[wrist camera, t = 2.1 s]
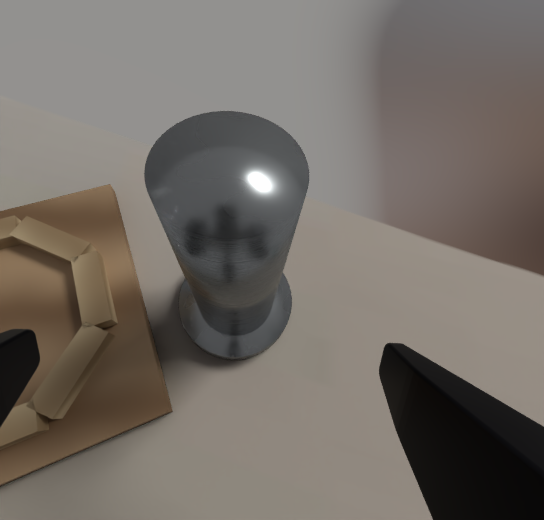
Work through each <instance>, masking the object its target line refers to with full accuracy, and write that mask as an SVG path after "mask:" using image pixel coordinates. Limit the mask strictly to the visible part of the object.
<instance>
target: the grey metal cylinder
mask: <svg viewBox="0 0 544 520" xmlns="http://www.w3.org/2000/svg"><path fill="white" fill-rule="evenodd" d="M144 174H145V184H146V188H147V191H148V194H149V196H150V198H151V201H152V203H153V205H154V207H155V210H156V212H157V214H158V217H159V219H160V221H161V223H162V226H163V228H164V230H165V233H166V235H167V237H168V239H169V242H170V244H171V246H172V249H173V251H174V253H175V255H176V258H177V260H178V262H179V265H180V267H181V269H182V271H183V274H184V276H185V280H184V282H183V284H182V287H181V290H180V295H179V314H180V318H181V321H182V323H183V326H184V328H185V330H186V331H187V333H188V334H189V336H190V337H191V338H192V340H193V341H194V342H195V343H196V344H197V345H198V346H199V347H200V348H201V349H203V350H204V351H205V352H207V353H209V354H211V355H213V356H216V357H219V358H223V359H229V360H239V359H246V358H250V357H253V356H256V355H258V354H260V353H262V352H264V351H265V350H267V349H268V348H269V347H271V346H272V345H273V344H274V343H275V342H276V341H277V339H278V338H279V337H280V335H281V334H282V332H283V330H284V329H285V327H286V324H287V322H288V320H289V317H290V313H291V307H292V297H291V291H290V287H289V284H288V282H287V279H286V277H285V276H284V274H283V269H284V266H285V263H286V259H287V256H288V253H289V249H290V246H291V243H292V239H293V236H294V233H295V229H296V226H297V223H298V219H299V216H300V213H301V209H302V206H303V203H304V199H305V196H306V193H307V189H308V184H309V169H308V163H307V161H306V157H305V155H304V153H303V151H302V149H301V147H300V146H299V145H298V143H297V142H296V141H295V140H294V139H293V137H292V136H291V135H290V134H288V133H287V132H286V131H285V130H284V129H282V128H281V127H279V126H278V125H276V124H274V123H272V122H271V121H269V120H266V119H264V118H261V117H259V116H255V115H252V114H247V113H242V112H234V111H220V112H219V111H218V112H210V113H204V114H200V115H196V116H193V117H190V118H188V119H185V120H183V121H181V122H179V123H177V124H176V125H174V126H173V127H171V128H170V129H168V130H167V131H166V132H165V133H164V134H162V136H161V137H160V138H159V139H158V140H157V141H156V143H155V144H154V145H153V147H152V148H151V150H150V153H149V155H148V157H147V161H146V164H145V173H144Z"/></svg>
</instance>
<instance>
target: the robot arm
mask: <svg viewBox="0 0 544 520" xmlns="http://www.w3.org/2000/svg"><path fill="white" fill-rule="evenodd" d="M39 363H40V353H39V348H38V344H37V339H36V335H35V332H34V331H33V330H31V329H10V330H8V331H5V332H2V333H0V427H1V426H2V424H3V423H4V421H5V420H6V418H7V417H8V415H9V413H10V412H11V410H12V409H13V407H14V405H15V404H16V402H17V400H18V399H19V397H20V396H21V394H22V392H23V391H24V389H25V387H26V386H27V384H28V383H29V381H30V379H31V378H32V376H33V374H34V373H35V371H36V370H37V368H38V366H39ZM379 375H380V380H381V383H382V386H383V389H384V393H385V396H386V399H387V403H388V406H389V409H390V413H391V416H392V419H393V423H394V426H395V429H396V431H397V434H398V437H399V439H400V442H401V444H402V447H403V449H404V451H405V454H406V456H407V458H408V461H409V463H410V466H411V468H412V470H413V473H414V475H415V478H416V480H417V482H418V485H419V487H420V489H421V492H422V494H423V497H424V499H425V501H426V504H427V506H428V509H429V511H430V513H431V516H432V518H433V520H544V427H543V426H542V425H540V424H538V423H537V422H535V421H533V420H531V419H530V418H528V417H526V416H525V415H523V414H521V413H519V412H518V411H516V410H514V409H513V408H511V407H509V406H508V405H506V404H504V403H502V402H501V401H499V400H497V399H496V398H494V397H492V396H491V395H489V394H487V393H485V392H484V391H482V390H480V389H479V388H477V387H475V386H474V385H472V384H470V383H468V382H467V381H465V380H463V379H462V378H460V377H458V376H456V375H455V374H453V373H451V372H450V371H448V370H446V369H445V368H443V367H441V366H439V365H438V364H436V363H434V362H433V361H431V360H429V359H428V358H426V357H424V356H422V355H421V354H419V353H417V352H416V351H414V350H412V349H411V348H409V347H407V346H405V345H404V344H401V343H387V344H386V345H385V347H384V350H383V355H382V359H381V363H380V367H379Z"/></svg>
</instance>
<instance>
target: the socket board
mask: <svg viewBox="0 0 544 520" xmlns="http://www.w3.org/2000/svg"><path fill="white" fill-rule="evenodd" d="M10 329H31V330H33V331H34V332H35V335H36V339H37V344H38V348H39V353H40V363H39V366H38V368H37V370H36V371H35V373H34V374H33V376H32V378H31V379H30V381H29V383H28V384H27V386H26V387H25V389H24V391H23V392H22V394H21V396H20V397H19V399H18V400H17V402H16V404H15V405H14V407H13V409H12V410H11V412H10V413H9V415H8V417H7V418H6V420H5V421H4V423H3V424H2V426H1V427H0V486H2V485H4V484H7V483H9V482H11V481H14V480H16V479H18V478H21V477H23V476H25V475H27V474H30V473H32V472H34V471H37V470H39V469H41V468H44V467H46V466H48V465H51V464H53V463H55V462H57V461H60V460H62V459H64V458H67V457H69V456H71V455H74V454H76V453H78V452H81V451H83V450H85V449H87V448H90V447H92V446H94V445H97V444H99V443H101V442H104V441H106V440H108V439H110V438H113V437H115V436H117V435H120V434H122V433H124V432H127V431H129V430H131V429H134V428H136V427H138V426H140V425H143V424H145V423H147V422H150V421H152V420H154V419H157V418H159V417H161V416H164V415H166V414H168V413H170V412H173V411H172V407H171V403H170V399H169V396H168V392H167V388H166V384H165V380H164V377H163V373H162V369H161V365H160V361H159V358H158V354H157V350H156V346H155V342H154V339H153V335H152V331H151V327H150V323H149V320H148V316H147V312H146V308H145V304H144V301H143V297H142V293H141V289H140V285H139V282H138V278H137V274H136V270H135V266H134V263H133V259H132V255H131V251H130V247H129V244H128V240H127V236H126V232H125V228H124V225H123V221H122V217H121V213H120V209H119V206H118V202H117V198H116V194H115V192H114V190H113V188H112V187H111V185H110V184H109V185H105V186H101V187H97V188H93V189H89V190H84V191H80V192H76V193H72V194H68V195H64V196H60V197H56V198H52V199H48V200H44V201H40V202H36V203H32V204H28V205H24V206H20V207H16V208H12V209H8V210H4V211H0V333H2V332H5V331H8V330H10Z"/></svg>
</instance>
